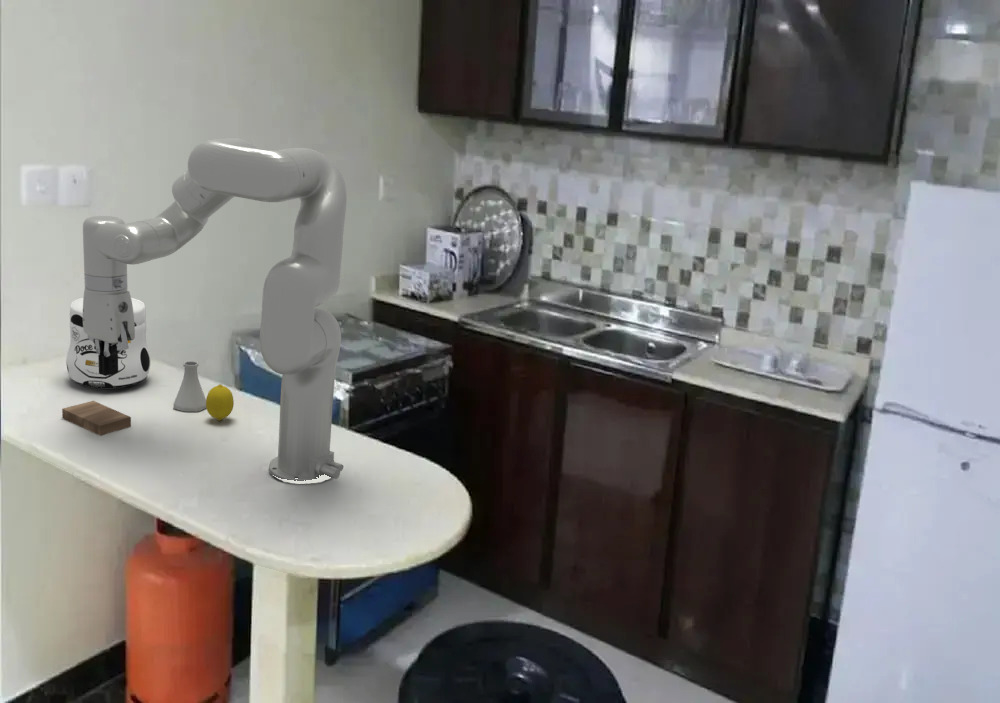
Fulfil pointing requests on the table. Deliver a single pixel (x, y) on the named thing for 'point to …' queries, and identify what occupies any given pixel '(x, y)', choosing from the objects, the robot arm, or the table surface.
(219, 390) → the lemon
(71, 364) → the milk container
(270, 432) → the table surface
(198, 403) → the flask
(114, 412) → the walnut slab
